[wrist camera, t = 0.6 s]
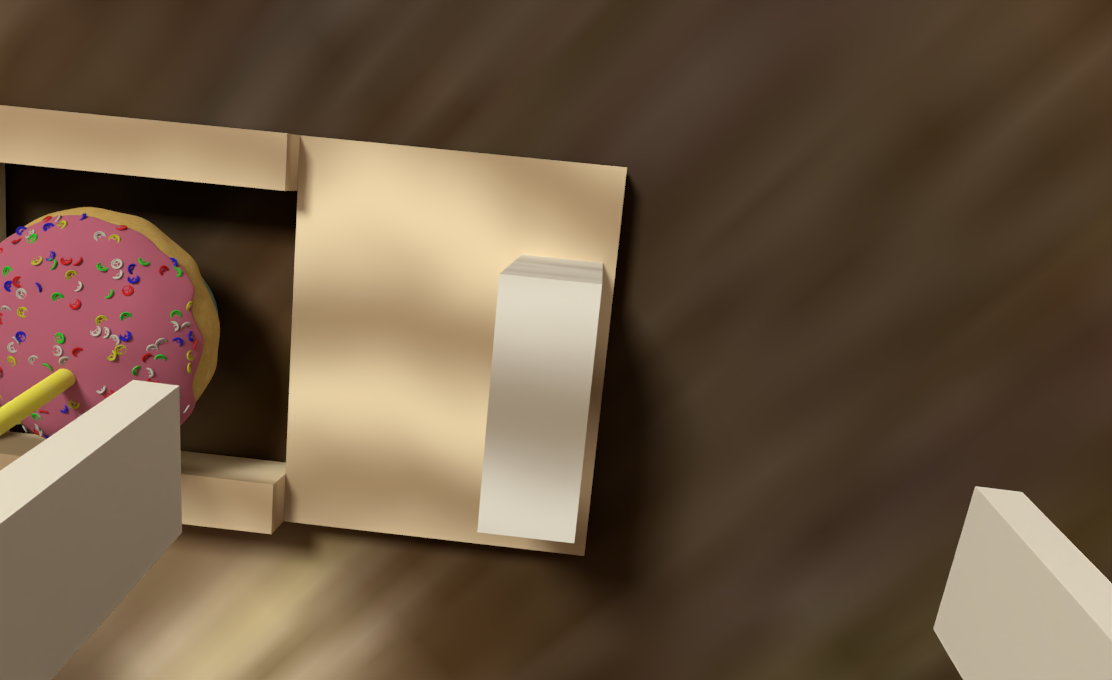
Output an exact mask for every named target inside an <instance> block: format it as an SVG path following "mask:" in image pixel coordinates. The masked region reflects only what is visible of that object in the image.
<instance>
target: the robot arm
mask: <svg viewBox="0 0 1112 680" xmlns="http://www.w3.org/2000/svg"><path fill="white" fill-rule="evenodd" d="M181 533H182V504H181V451H180V398H179V386H178V385H170V384H162V383H154V382H146V381H139V380H132V381H131V382H129V383H128V384H126V385H125V386H124V387H122V388H121V389H119V390H118V391H116V392H115V393H113V394H112V395H110V396H109V397H107V398H106V399H104V400H103V401H102V402H100V403H99V404H97V405H96V406H94V407H93V408H91V409H90V410H88V411H87V412H85V413H84V414H82V415H81V416H80V417H78V418H77V419H75V420H74V421H72V422H71V423H69V424H68V425H66V426H65V427H63V428H62V429H61V430H59V431H58V432H56V433H55V434H53V435H52V436H50V437H49V438H47V439H46V440H44V441H43V442H41V443H40V444H39V445H37V446H36V447H34V448H33V449H31V450H30V451H28V452H27V453H25V454H24V455H22V456H21V457H19V458H18V459H17V460H15V461H14V462H12V463H11V464H9V465H8V466H6V467H5V468H3V469H2V470H0V680H52V679H53V678H54V677H55V675H56V674H57V673H58V672H59V671H60V670H61V669H62V668H63V666H64V665H65V664H66V663H67V662H68V661H69V660H70V659H71V657H72V656H73V655H74V654H75V653H76V652H77V651H78V649H79V648H80V647H81V646H82V645H83V644H84V643H85V642H86V640H87V639H88V638H89V637H90V636H91V635H92V634H93V633H94V631H95V630H96V629H97V628H98V627H99V626H100V625H101V624H102V622H103V621H104V620H105V619H106V618H107V617H108V616H109V615H110V613H111V612H112V611H113V610H114V609H115V608H116V607H117V605H118V604H119V603H120V602H121V601H122V600H123V599H124V598H125V596H126V595H127V594H128V593H129V592H130V591H131V590H132V589H133V587H134V586H135V585H136V584H137V583H138V582H139V581H140V580H141V578H142V577H143V576H144V575H145V574H146V573H147V572H148V571H149V569H150V568H151V567H152V566H153V565H154V564H155V563H156V561H157V560H158V559H159V558H160V557H161V556H162V555H163V554H164V552H165V551H166V550H167V549H168V548H169V547H170V546H171V545H172V543H173V542H174V541H175V540H176V539H177V538H178V537H179V536H180V534H181ZM933 629H934V631H935V633H936V634H937V636H938V638H939V640H940V641H941V643H942V645H943V646H944V648H945V650H946V651H947V653H948V655H949V657H950V658H951V660H952V662H953V663H954V665H955V667H956V668H957V670H958V672H959V674H960V675H961V677H962V679H963V680H1112V583H1111V582H1110V581H1109V580H1108V579H1107V578H1106V577H1105V576H1104V575H1103V574H1102V573H1101V572H1100V571H1099V570H1098V569H1097V568H1096V567H1095V566H1094V565H1093V564H1092V563H1091V562H1090V561H1089V560H1088V559H1087V558H1086V557H1085V556H1084V555H1083V554H1082V553H1081V552H1080V551H1079V550H1078V549H1077V548H1076V547H1075V546H1074V545H1073V544H1072V543H1071V542H1070V540H1069V539H1068V538H1067V537H1066V536H1065V535H1064V534H1063V533H1062V532H1061V531H1060V530H1059V529H1058V528H1057V527H1056V526H1055V525H1054V524H1053V523H1052V522H1051V521H1050V520H1049V519H1048V518H1047V517H1046V516H1045V515H1044V514H1043V513H1042V512H1041V511H1040V510H1039V509H1038V508H1037V507H1036V506H1035V505H1034V504H1033V503H1032V502H1031V501H1030V500H1029V499H1028V498H1027V497H1026V496H1025V495H1024V494H1023V493H1022V492H1016V491H1008V490H1001V489H993V488H985V487H977V486H975V489H974V492H973V496H972V499H971V503H970V506H969V509H968V513H967V516H966V519H965V523H964V526H963V530H962V533H961V536H960V540H959V543H958V547H957V550H956V553H955V557H954V560H953V564H952V567H951V570H950V574H949V577H948V581H947V584H946V587H945V591H944V594H943V598H942V601H941V604H940V608H939V611H938V615H937V618H936V621H935V625H934V628H933Z"/></svg>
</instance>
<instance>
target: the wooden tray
mask: <svg viewBox="0 0 1112 680" xmlns="http://www.w3.org/2000/svg"><path fill="white" fill-rule="evenodd" d="M5 163H12V164H22V165H32V166H42V167H52V168H62V169H72V170H82V171H92V172H101V173H111V174H121V175H131V176H141V177H151V178H161V179H171V180H181V181H191V182H201V183H211V184H221V185H230V186H240V187H250V188H260V189H270V190H280V191H298V194H297V217H296V241H295V264H294V288H293V311H292V335H291V358H290V382H289V405H288V428H287V452H286V463H285V462H276V461H268V460H259V459H250V458H241V457H232V456H223V455H214V454H205V453H196V452H188V451H181V504H182V524H187V525H196V526H204V527H213V528H222V529H230V530H239V531H247V532H256V533H265V534H272V533H273V532H274V531H275V530H276V529H277V528H278V527H279V526H280V524H281V523H282V522H283V521H285V522H294V523H303V524H311V525H320V526H329V527H337V528H346V529H355V530H364V531H372V532H381V533H390V534H398V535H407V536H416V537H424V538H433V539H442V540H450V541H459V542H468V543H476V544H485V545H494V546H503V547H511V548H520V549H529V550H537V551H546V552H555V553H563V554H572V555H581V556H584V554H585V545H586V536H587V527H588V518H589V508H590V499H591V490H592V481H593V472H594V463H595V454H596V445H597V436H598V427H599V418H600V409H601V399H602V390H603V381H604V372H605V363H606V354H607V345H608V336H609V327H610V318H611V309H612V300H613V291H614V281H615V272H616V263H617V254H618V245H619V236H620V227H621V218H622V209H623V200H624V191H625V182H626V172H627V168H626V167H616V166H606V165H596V164H585V163H575V162H565V161H555V160H545V159H534V158H524V157H514V156H504V155H494V154H484V153H473V152H463V151H453V150H443V149H433V148H423V147H412V146H402V145H392V144H382V143H372V142H362V141H351V140H341V139H331V138H321V137H311V136H300V135H294V134H287V133H277V132H267V131H257V130H247V129H237V128H226V127H216V126H206V125H196V124H186V123H176V122H165V121H155V120H145V119H135V118H125V117H114V116H104V115H94V114H84V113H74V112H64V111H53V110H43V109H33V108H23V107H13V106H2V105H0V243H1V242H2V241H3V240H5V239H6V196H5ZM0 407H1V406H0ZM44 440H46V439H45V438H43V437H41V436H38V435H36V434H28V433H19V432H10V429H9V430H8V431H6V432H5V433H3V434H2V435H1V436H0V470H2V469H3V468H5V467H6V466H8V465H9V464H11V463H12V462H14V461H15V460H17V459H18V458H19V457H21V456H22V455H24V454H25V453H27V452H28V451H30V450H31V449H33V448H34V447H36V446H37V445H39V444H40V443H41V442H43V441H44Z"/></svg>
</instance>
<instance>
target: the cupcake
mask: <svg viewBox="0 0 1112 680" xmlns="http://www.w3.org/2000/svg"><path fill="white" fill-rule="evenodd" d="M219 338H220V322H219V318H218V309H217V305H216V301H215V298H214V296H213V293H212V291H211V289H210V288H209V286H208V284H207V283H206V282H205V280H204V279H203V278H202V277H201V274H200V271H199V268H198V266H197V264H196V262H195V260H194V259H193V258H192V257H191V256H190V255H189V254H188V253H187V252H186V251H185V250H184V249H182V248H181V247H180V246H179V245H178V244H176V243H175V242H174V241H173V240H171V239H170V238H169V237H168V236H167V235H165V234H164V233H163V232H162V231H161V230H160V229H158V228H157V227H156V226H155V225H153V224H152V223H151V222H149V221H147V220H145V219H143V218H141V217H138V216H134V215H130V214H125V213H119V212H115V211H111V210H106V209H102V208H95V207H80V208H74V209H68V210H63V211H58V212H54V213H51V214H48V215H45V216H42V217H40V218H38V219H36V220H34V221H32V222H30V223H29V224H27V225H26V226H20V227H18V228H17V229H16V233H14V234H13V235H11V236H9V237H8V238H6V239H5V240H3V241H2V242H1V243H0V406H1V407H0V436H1V435H2V434H3V433H5V432H6V431H8V430H9V429H11V428H12V427H14V426H15V425H16V424H22V427H23V429H24V430H25V432H28V430H27V428H28V429H29V430H31V431H32V432H34V433H35V434H36V435H38V436H41V437H43V438H45V439H47V438H49V437H50V436H52V435H53V434H55V433H56V432H58V431H59V430H61V429H62V428H63V427H65V426H66V425H68V424H69V423H71V422H72V421H74V420H75V419H77V418H78V417H80V416H81V415H82V414H84V413H85V412H87V411H88V410H90V409H91V408H93V407H94V406H96V405H97V404H99V403H100V402H102V401H103V400H104V399H106V398H107V397H109V396H110V395H112V394H113V393H115V392H116V391H118V390H119V389H121V388H122V387H124V386H125V385H126V384H128V383H129V382H131V381H132V380H139V381H146V382H154V383H162V384H170V385H178V386H179V398H180V425H182V424H183V423H184V422H185V420H186V419H187V418H188V417H189V416H190V414H191V413H192V411H193V409H194V407H195V402H196V401H197V400H198V399H199V397H200V396H201V395H202V393H203V392H204V390H205V388H206V387H207V385H208V384H209V382H210V380H211V378H212V377H213V375H214V372H215V369H216V365H217V354H218V346H219ZM26 427H27V428H26Z"/></svg>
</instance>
